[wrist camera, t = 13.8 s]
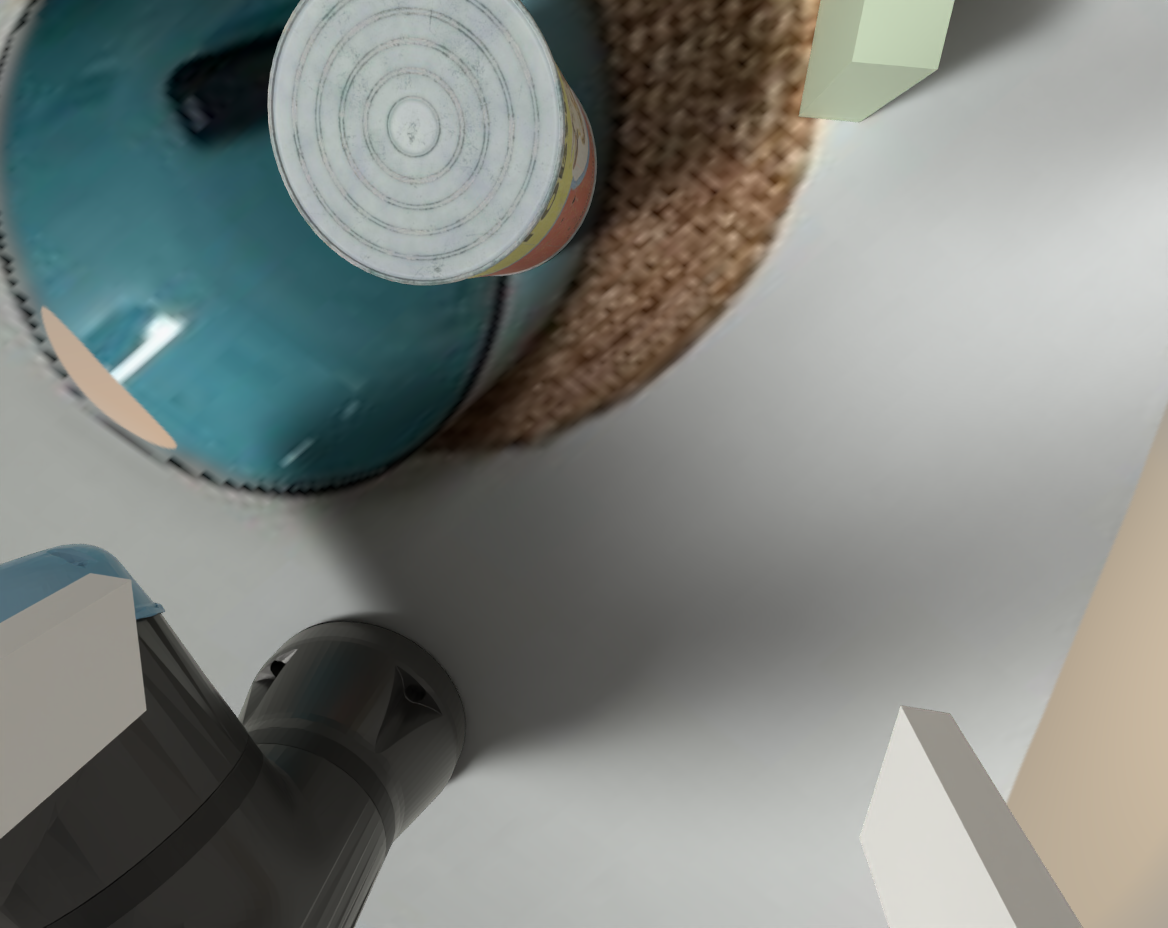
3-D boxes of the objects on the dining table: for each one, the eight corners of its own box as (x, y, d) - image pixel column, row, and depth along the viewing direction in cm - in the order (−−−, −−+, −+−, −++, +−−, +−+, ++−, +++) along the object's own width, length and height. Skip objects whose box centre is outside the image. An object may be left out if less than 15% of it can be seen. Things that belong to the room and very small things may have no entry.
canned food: (625, 233, 36) (607, 223, 25) (441, 304, 38) (346, 325, 27) (552, 9, 33) (494, -119, 22) (358, 100, 35) (214, 28, 24)
